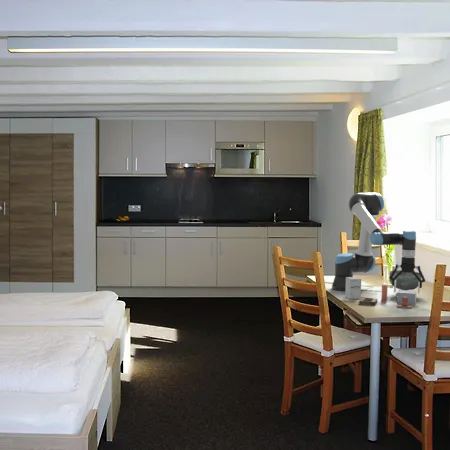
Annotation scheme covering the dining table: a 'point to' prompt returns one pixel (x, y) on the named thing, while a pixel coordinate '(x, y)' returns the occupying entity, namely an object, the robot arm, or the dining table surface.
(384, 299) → the peg
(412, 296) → the cover
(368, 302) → the board
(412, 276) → the bowl
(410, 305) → the board
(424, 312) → the dining table surface
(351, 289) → the supplement box
